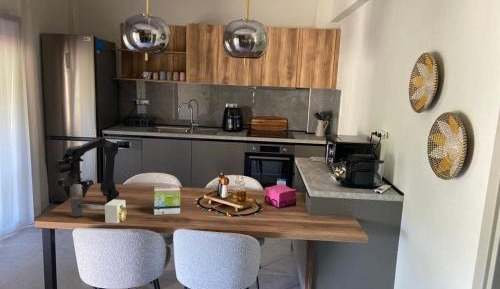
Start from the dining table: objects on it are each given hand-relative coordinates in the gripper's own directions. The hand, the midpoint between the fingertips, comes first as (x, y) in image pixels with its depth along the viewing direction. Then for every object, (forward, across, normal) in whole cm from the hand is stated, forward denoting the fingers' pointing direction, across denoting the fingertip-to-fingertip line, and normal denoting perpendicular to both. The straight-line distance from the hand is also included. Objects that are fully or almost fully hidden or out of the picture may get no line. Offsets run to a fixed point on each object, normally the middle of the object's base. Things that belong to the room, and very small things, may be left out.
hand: (75, 197), depth 214 cm
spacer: (+8, +27, 0) cm, 28 cm away
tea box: (+12, +46, +18) cm, 51 cm away
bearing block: (+11, +23, 0) cm, 26 cm away
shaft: (+10, +11, 0) cm, 15 cm away
